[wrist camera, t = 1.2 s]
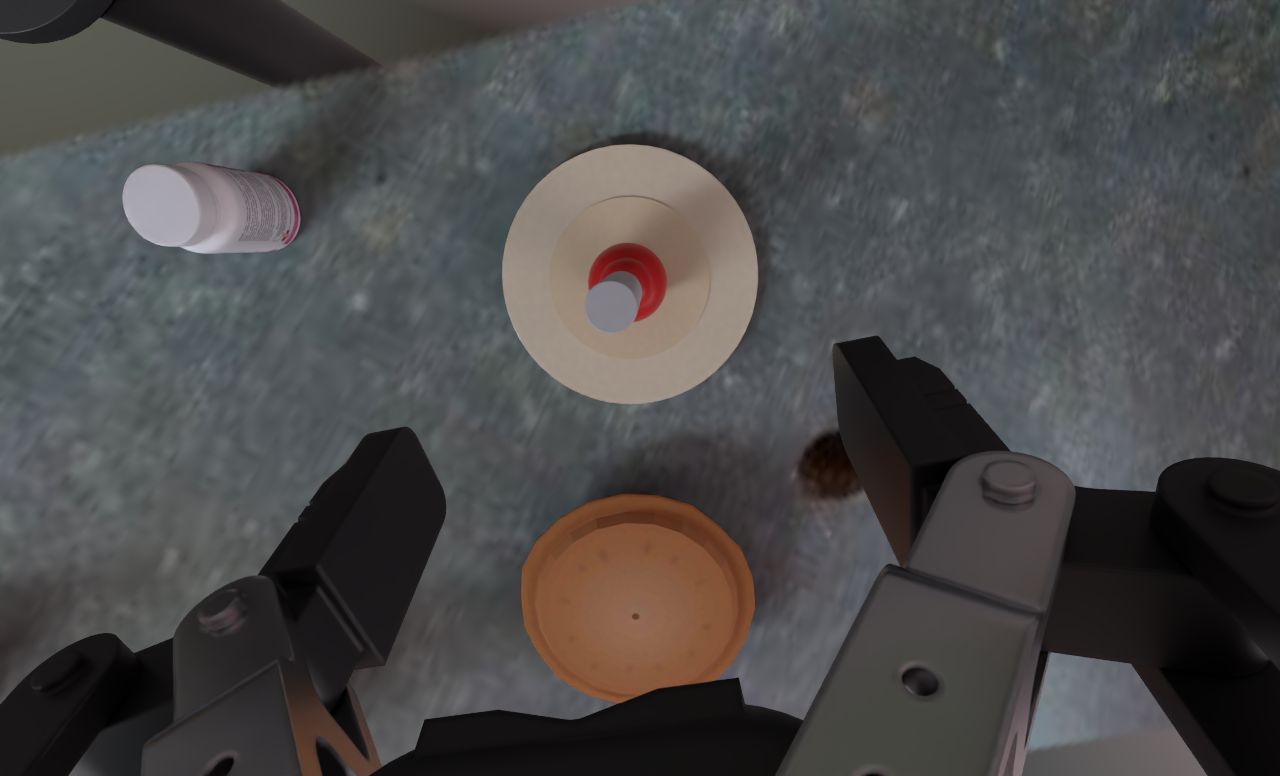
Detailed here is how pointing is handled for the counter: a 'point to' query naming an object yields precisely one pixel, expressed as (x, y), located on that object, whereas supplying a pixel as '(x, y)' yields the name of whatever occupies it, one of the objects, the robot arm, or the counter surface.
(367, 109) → the counter surface
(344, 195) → the counter surface
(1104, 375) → the counter surface
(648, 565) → the pie
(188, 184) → the pill bottle
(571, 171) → the plate
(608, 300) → the forked strawberry
